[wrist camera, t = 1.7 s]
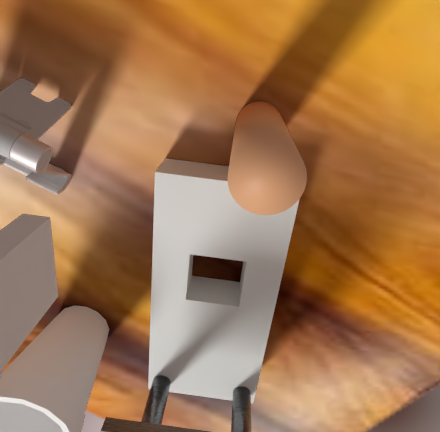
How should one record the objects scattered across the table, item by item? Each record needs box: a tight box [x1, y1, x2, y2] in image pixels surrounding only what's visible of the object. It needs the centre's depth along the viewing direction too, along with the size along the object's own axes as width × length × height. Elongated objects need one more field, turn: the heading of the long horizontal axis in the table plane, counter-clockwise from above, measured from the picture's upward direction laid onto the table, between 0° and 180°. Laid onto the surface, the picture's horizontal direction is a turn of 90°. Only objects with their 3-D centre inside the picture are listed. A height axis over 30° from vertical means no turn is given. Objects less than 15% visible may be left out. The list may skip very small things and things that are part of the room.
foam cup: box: [0, 305, 109, 432], centre depth 36 cm, size 10×9×13 cm
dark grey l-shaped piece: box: [101, 375, 251, 432], centre depth 32 cm, size 11×13×12 cm
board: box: [148, 158, 299, 403], centre depth 36 cm, size 26×12×4 cm, turn 174°
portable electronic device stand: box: [0, 78, 71, 194], centre depth 28 cm, size 9×8×8 cm
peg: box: [227, 101, 307, 215], centre depth 24 cm, size 4×4×14 cm
